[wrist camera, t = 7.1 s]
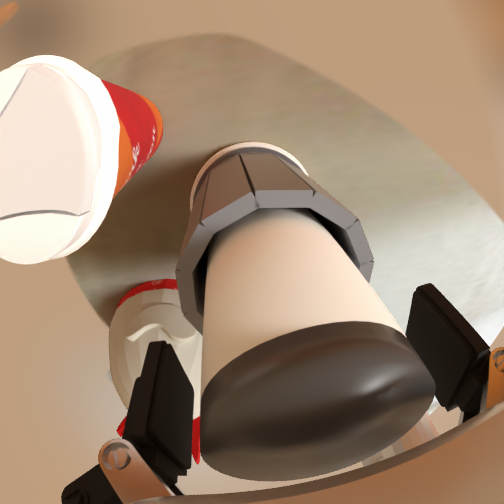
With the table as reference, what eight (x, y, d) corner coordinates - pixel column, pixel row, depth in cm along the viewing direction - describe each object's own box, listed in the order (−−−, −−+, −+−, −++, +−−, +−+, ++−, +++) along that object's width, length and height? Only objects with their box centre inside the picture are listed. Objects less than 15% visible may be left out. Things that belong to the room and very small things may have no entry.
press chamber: (306, 253, 26) (358, 353, 15) (195, 258, 26) (181, 368, 15) (314, 143, 22) (399, 179, 11) (187, 143, 21) (149, 179, 10)
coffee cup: (103, 194, 22) (-3, 297, 9) (71, 108, 18) (-68, 133, 5) (194, 157, 22) (149, 235, 8) (161, 64, 18) (69, 1, 5)
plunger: (294, 249, 23) (387, 457, 8) (214, 252, 23) (213, 486, 7) (299, 170, 20) (473, 339, 5) (210, 171, 20) (176, 386, 4)
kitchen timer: (241, 372, 33) (253, 485, 20) (132, 371, 32) (111, 478, 19) (240, 276, 27) (259, 420, 14) (101, 279, 26) (39, 403, 13)
